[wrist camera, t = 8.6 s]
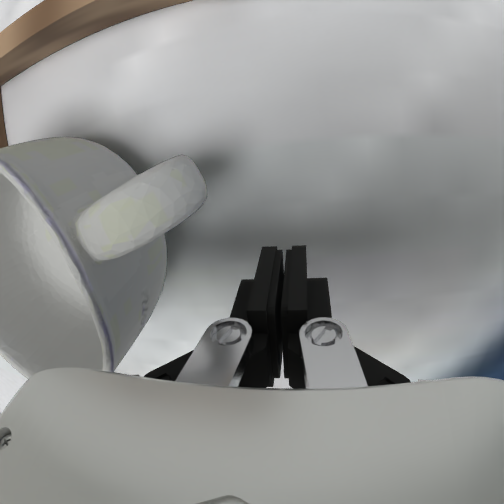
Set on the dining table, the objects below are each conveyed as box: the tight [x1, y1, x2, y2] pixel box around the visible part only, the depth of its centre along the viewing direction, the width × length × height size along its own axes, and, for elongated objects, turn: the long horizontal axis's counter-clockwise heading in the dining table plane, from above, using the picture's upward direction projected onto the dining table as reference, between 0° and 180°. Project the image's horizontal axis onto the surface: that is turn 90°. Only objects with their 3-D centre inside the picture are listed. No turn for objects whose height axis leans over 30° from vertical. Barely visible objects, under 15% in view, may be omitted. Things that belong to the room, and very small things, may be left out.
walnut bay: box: [0, 0, 192, 148], centre depth 15 cm, size 18×27×4 cm, turn 6°
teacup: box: [0, 137, 207, 379], centre depth 11 cm, size 14×11×8 cm
